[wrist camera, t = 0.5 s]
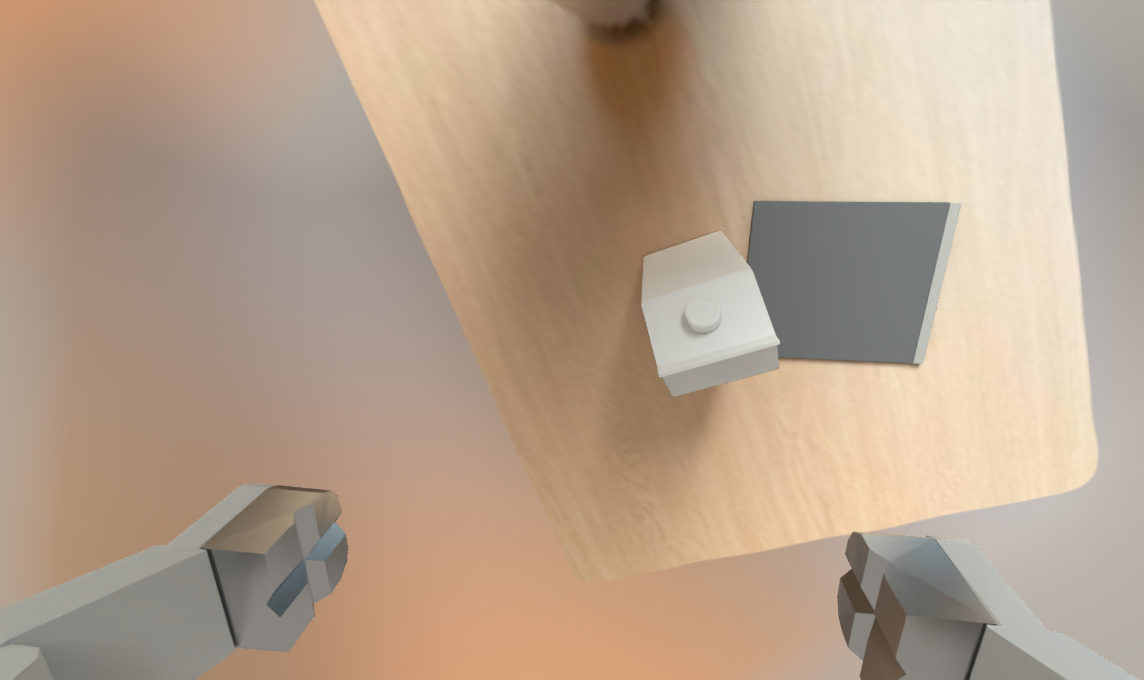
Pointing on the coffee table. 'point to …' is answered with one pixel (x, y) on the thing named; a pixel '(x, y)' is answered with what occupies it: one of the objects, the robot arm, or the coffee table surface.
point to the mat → (851, 275)
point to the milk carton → (705, 315)
